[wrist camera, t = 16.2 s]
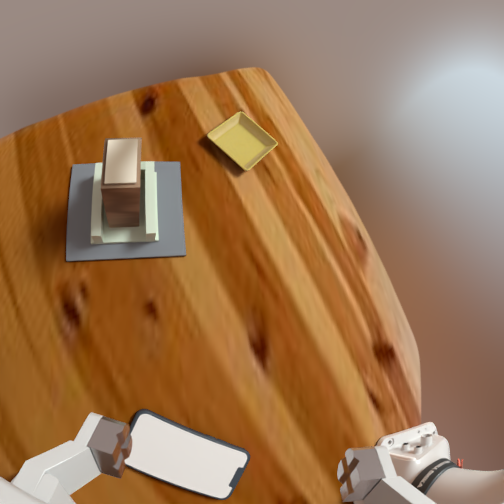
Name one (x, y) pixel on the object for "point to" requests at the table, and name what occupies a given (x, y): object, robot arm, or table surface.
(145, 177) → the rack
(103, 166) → the tall wooden pillar
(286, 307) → the table surface
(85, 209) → the mat
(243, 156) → the yellow square tray
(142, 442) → the smartphone
